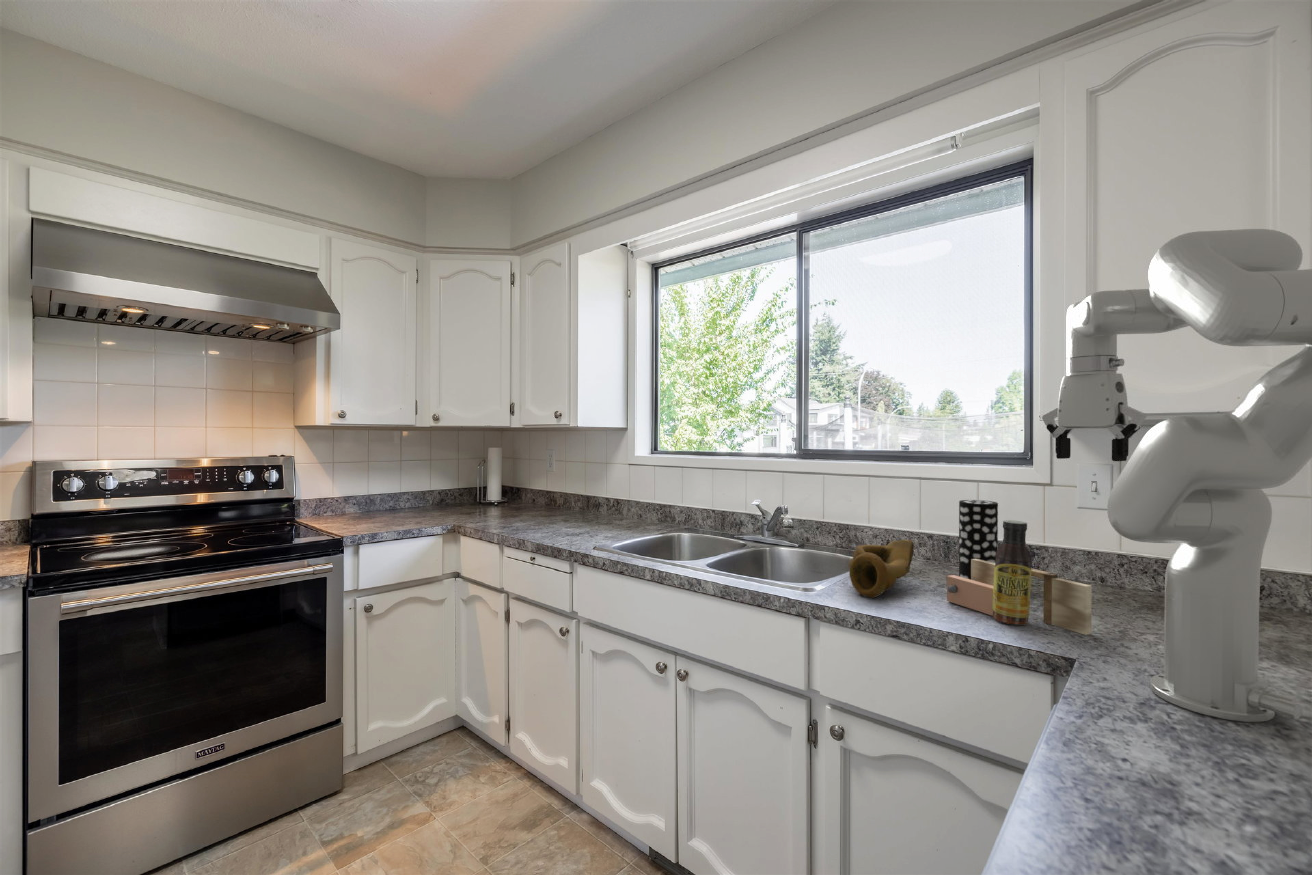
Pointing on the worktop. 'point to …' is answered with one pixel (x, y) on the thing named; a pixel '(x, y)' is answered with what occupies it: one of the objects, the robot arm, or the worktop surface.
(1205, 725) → the worktop surface
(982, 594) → the door
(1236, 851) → the worktop surface
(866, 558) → the brown looped sculpture
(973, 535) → the spotted tube
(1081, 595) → the door frame
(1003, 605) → the sauce bottle
